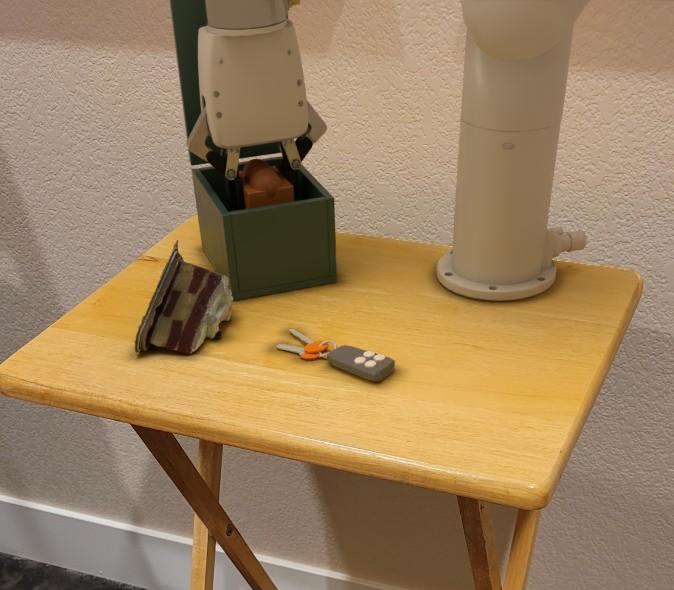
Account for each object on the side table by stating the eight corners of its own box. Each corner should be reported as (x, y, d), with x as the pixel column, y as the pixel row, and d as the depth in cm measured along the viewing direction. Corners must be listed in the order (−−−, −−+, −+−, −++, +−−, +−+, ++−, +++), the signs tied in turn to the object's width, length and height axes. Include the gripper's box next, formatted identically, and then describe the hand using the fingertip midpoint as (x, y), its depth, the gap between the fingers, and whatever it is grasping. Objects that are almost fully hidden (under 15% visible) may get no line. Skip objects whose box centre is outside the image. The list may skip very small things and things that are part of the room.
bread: (277, 199, 97) (273, 151, 94) (296, 222, 93) (292, 172, 89) (235, 206, 96) (229, 158, 93) (252, 230, 92) (246, 179, 88)
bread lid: (287, -14, 86) (270, -30, 90) (170, -2, 84) (158, -19, 88) (293, 151, 98) (278, 131, 102) (191, 166, 96) (179, 144, 99)
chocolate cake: (201, 372, 82) (242, 249, 82) (129, 347, 82) (170, 224, 82) (213, 392, 92) (249, 282, 92) (148, 370, 92) (185, 259, 91)
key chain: (399, 369, 81) (399, 354, 80) (375, 386, 79) (375, 371, 78) (291, 331, 87) (290, 317, 86) (266, 346, 85) (265, 332, 84)
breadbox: (337, 282, 95) (334, 197, 89) (232, 301, 92) (222, 215, 86) (297, 233, 105) (292, 154, 99) (202, 249, 102) (191, 168, 96)
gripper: (319, -8, 86) (328, 187, 99) (147, 12, 82) (179, 211, 95) (345, 6, 81) (350, 209, 93) (162, 27, 77) (194, 236, 90)
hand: (264, 208), depth 94 cm, fingers closed on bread, 4 cm apart
